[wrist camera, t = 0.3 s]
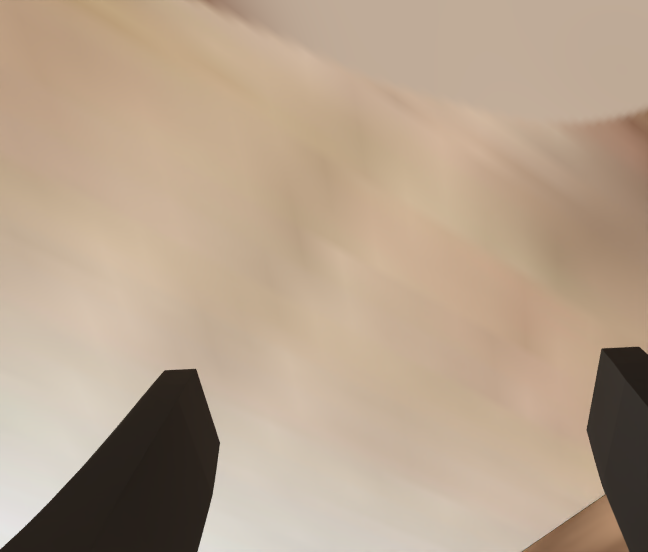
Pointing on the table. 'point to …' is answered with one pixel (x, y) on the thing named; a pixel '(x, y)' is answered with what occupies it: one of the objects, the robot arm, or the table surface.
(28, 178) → the table surface
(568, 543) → the toolbox
